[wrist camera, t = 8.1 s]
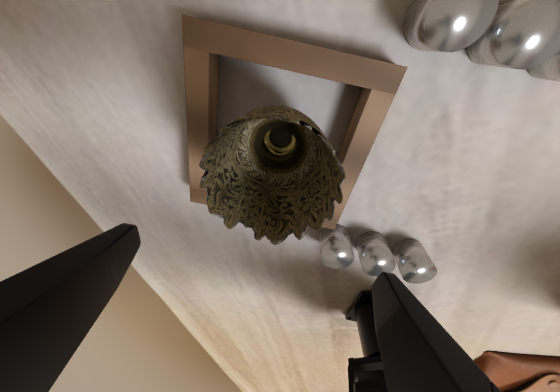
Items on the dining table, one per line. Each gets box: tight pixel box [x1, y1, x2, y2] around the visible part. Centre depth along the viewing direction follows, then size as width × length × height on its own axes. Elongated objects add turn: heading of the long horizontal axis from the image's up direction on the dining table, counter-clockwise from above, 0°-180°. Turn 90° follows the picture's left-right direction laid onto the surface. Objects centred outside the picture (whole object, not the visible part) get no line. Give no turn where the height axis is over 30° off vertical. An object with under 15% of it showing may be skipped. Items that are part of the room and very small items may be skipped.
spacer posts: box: [319, 0, 560, 283], centre depth 17 cm, size 21×11×3 cm, turn 169°
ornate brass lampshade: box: [199, 106, 346, 245], centre depth 15 cm, size 8×7×8 cm
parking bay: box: [182, 15, 408, 230], centre depth 17 cm, size 13×13×2 cm
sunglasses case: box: [474, 351, 560, 392], centre depth 35 cm, size 18×7×7 cm, turn 92°
